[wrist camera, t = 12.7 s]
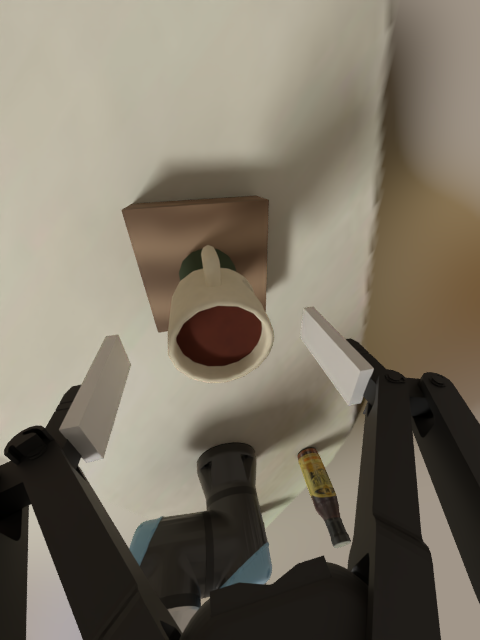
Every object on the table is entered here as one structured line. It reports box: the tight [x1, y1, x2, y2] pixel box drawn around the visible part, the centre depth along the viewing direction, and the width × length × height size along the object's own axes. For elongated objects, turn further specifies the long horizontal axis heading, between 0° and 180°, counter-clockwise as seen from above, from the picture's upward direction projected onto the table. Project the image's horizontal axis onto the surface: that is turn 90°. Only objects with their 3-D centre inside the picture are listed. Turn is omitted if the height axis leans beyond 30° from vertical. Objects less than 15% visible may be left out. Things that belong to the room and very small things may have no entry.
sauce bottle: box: [298, 448, 351, 548], centre depth 58 cm, size 7×6×20 cm
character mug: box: [168, 245, 274, 383], centre depth 20 cm, size 11×7×13 cm, turn 3°
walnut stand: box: [122, 196, 269, 332], centre depth 28 cm, size 14×14×5 cm
